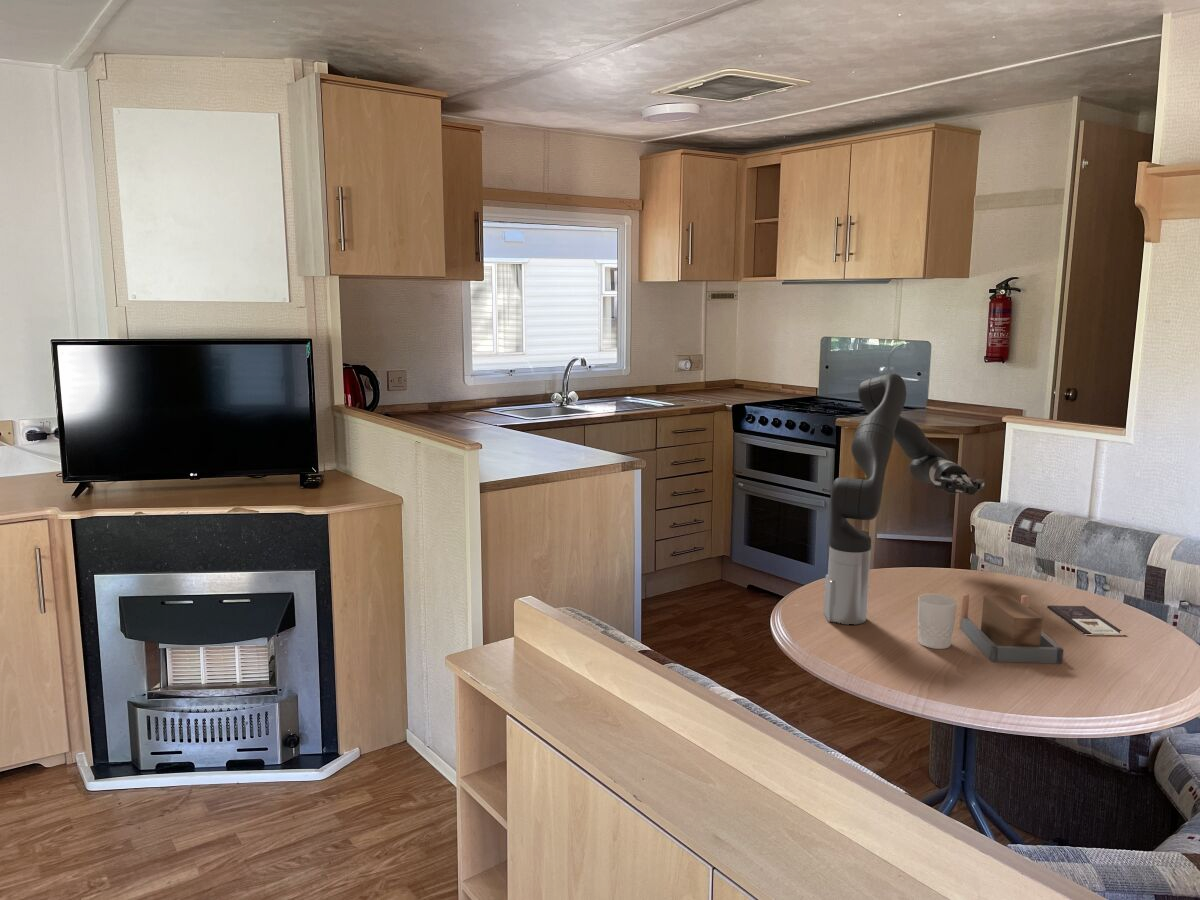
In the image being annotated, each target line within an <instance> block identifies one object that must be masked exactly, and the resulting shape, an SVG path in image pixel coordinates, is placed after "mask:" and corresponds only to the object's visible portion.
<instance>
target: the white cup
mask: <svg viewBox="0 0 1200 900" xmlns="http://www.w3.org/2000/svg"><path fill="white" fill-rule="evenodd" d="M957 604H958V601H957V599H955V598H954V597H951V596H949V595H945V594H939V593H923V594H920V595H918V597H917V643H918V644H920V645H921V646H923V647H926V648H929V649H936V650H945V649H948V648H950V647H951V645H952V635H953V633H954V628H955V627H954V626H955V621H956V614H957V613H956V612H957V606H958V605H957Z"/></svg>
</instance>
